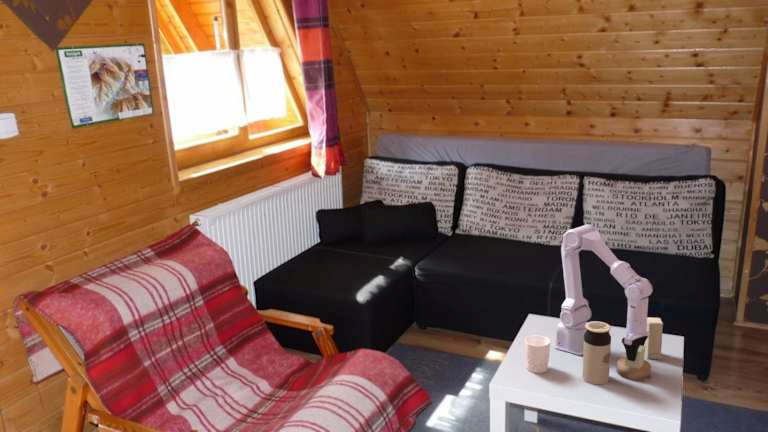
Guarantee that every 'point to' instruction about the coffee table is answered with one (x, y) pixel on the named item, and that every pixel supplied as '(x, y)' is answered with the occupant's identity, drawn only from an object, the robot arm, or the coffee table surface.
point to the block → (637, 359)
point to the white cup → (537, 353)
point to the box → (654, 338)
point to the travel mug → (596, 352)
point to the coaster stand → (633, 371)
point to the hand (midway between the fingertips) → (634, 356)
